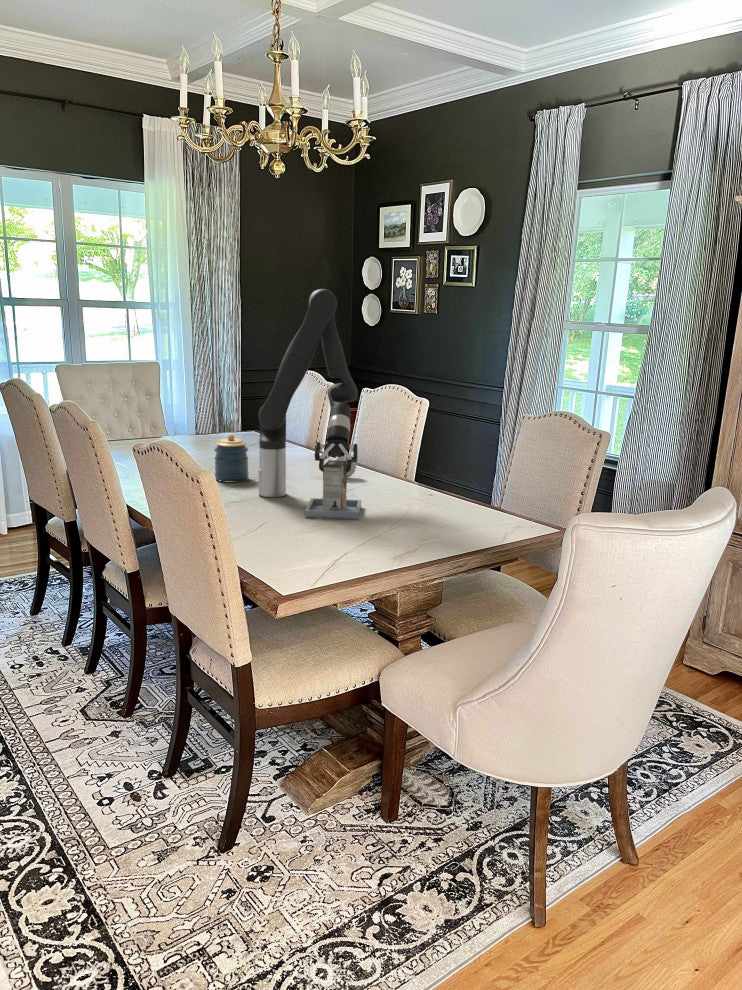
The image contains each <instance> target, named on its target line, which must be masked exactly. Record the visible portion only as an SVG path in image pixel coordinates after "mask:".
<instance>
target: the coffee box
mask: <svg viewBox="0 0 742 990" xmlns="http://www.w3.org/2000/svg"><path fill="white" fill-rule="evenodd" d="M333 460H334V459H333ZM333 460H330V459H329V460H327V462H324V465H323V471H322V499H323V510H326V511H344V510H345V508H346V500H347V479H348V478H347V471H346V468H347V461H333Z"/></svg>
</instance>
